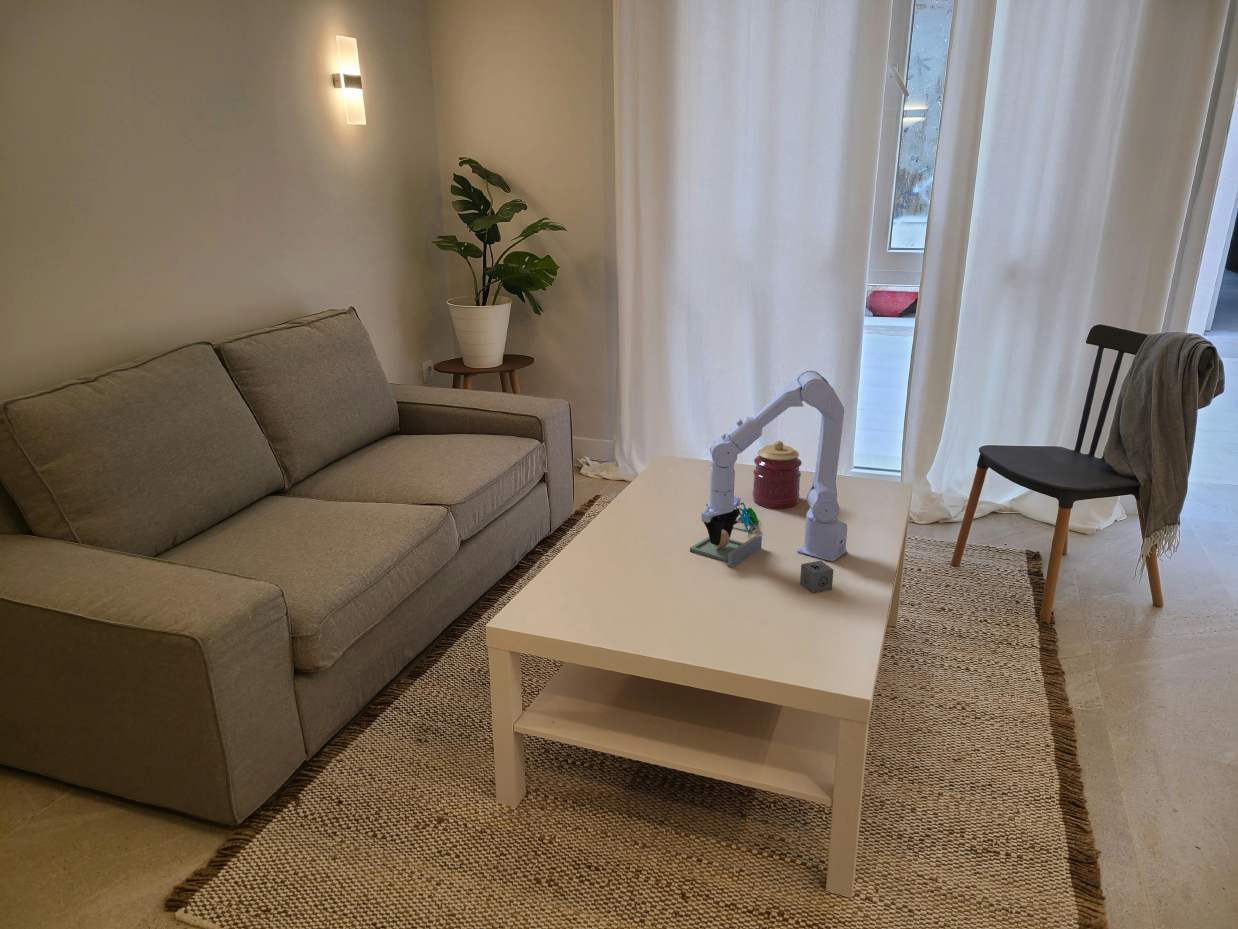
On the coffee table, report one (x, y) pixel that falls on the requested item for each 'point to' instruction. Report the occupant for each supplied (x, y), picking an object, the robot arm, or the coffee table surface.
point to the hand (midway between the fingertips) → (720, 540)
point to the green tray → (715, 549)
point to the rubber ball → (723, 539)
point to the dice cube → (816, 577)
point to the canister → (777, 476)
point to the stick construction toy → (747, 517)
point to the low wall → (744, 550)
